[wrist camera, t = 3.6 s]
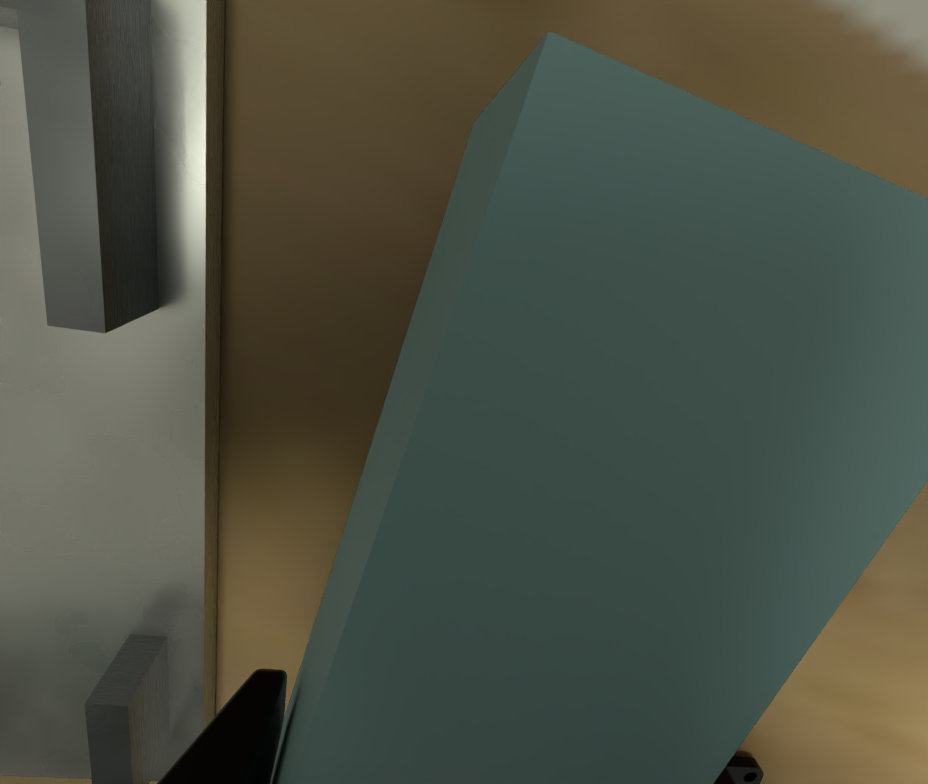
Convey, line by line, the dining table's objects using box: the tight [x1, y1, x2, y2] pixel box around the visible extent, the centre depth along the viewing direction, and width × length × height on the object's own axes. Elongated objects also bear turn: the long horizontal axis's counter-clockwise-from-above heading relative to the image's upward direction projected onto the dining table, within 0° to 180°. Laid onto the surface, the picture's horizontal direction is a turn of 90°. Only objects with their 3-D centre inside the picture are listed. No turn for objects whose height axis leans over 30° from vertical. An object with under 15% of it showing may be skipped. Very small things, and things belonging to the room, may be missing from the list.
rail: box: [270, 31, 928, 784], centre depth 7 cm, size 15×4×4 cm, turn 161°
